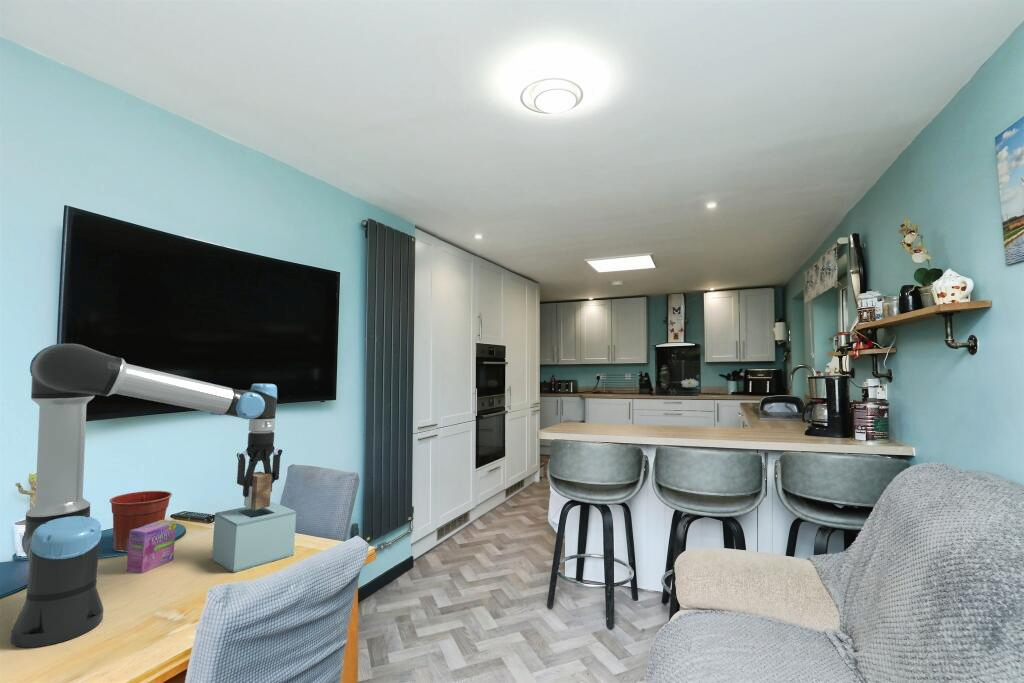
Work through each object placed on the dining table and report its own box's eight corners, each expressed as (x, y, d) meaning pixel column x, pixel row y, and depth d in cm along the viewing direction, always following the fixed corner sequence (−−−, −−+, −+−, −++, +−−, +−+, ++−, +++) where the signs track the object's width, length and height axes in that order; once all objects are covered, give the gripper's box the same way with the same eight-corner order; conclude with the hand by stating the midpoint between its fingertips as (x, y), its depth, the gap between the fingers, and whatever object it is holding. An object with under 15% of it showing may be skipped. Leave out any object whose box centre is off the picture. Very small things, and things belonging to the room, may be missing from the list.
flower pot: (170, 534, 168) (174, 488, 169) (166, 550, 154) (170, 499, 156) (110, 542, 160) (114, 493, 161) (100, 559, 146) (104, 505, 147)
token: (255, 509, 149) (257, 477, 149) (244, 505, 152) (246, 473, 153) (269, 506, 152) (271, 474, 153) (258, 502, 156) (260, 471, 157)
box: (141, 573, 137) (145, 531, 138) (125, 571, 138) (129, 529, 139) (174, 560, 147) (177, 521, 148) (158, 558, 148) (161, 519, 149)
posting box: (233, 572, 139) (236, 524, 140) (211, 558, 149) (215, 512, 150) (293, 555, 154) (296, 511, 154) (270, 543, 163) (272, 501, 164)
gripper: (237, 435, 145) (231, 513, 143) (294, 430, 159) (289, 501, 157) (227, 432, 149) (221, 508, 148) (283, 428, 163) (278, 497, 162)
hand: (256, 504), depth 152 cm, fingers closed on token, 5 cm apart
